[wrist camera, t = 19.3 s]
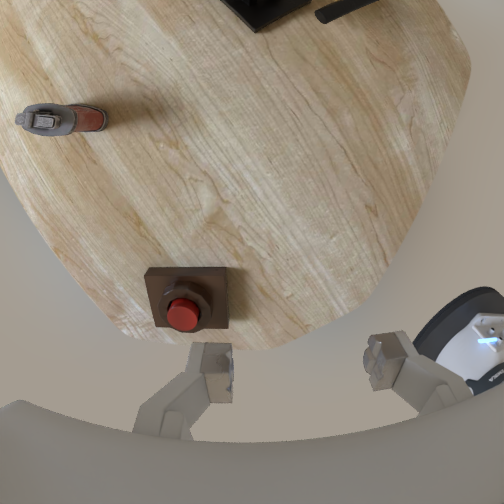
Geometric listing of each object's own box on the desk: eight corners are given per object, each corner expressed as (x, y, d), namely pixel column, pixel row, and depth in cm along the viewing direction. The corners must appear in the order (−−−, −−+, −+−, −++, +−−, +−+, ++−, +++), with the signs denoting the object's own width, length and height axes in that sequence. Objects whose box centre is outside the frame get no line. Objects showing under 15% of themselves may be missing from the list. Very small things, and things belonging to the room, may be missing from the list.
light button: (197, 298, 32) (195, 306, 31) (200, 322, 34) (199, 331, 32) (168, 297, 32) (164, 306, 31) (172, 321, 34) (169, 330, 32)
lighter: (56, 127, 27) (3, 135, 17) (61, 102, 25) (9, 102, 16) (104, 135, 28) (55, 143, 19) (111, 108, 26) (62, 105, 17)
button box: (225, 266, 35) (223, 283, 31) (229, 318, 38) (227, 337, 34) (148, 267, 35) (138, 283, 31) (159, 317, 38) (152, 335, 34)
